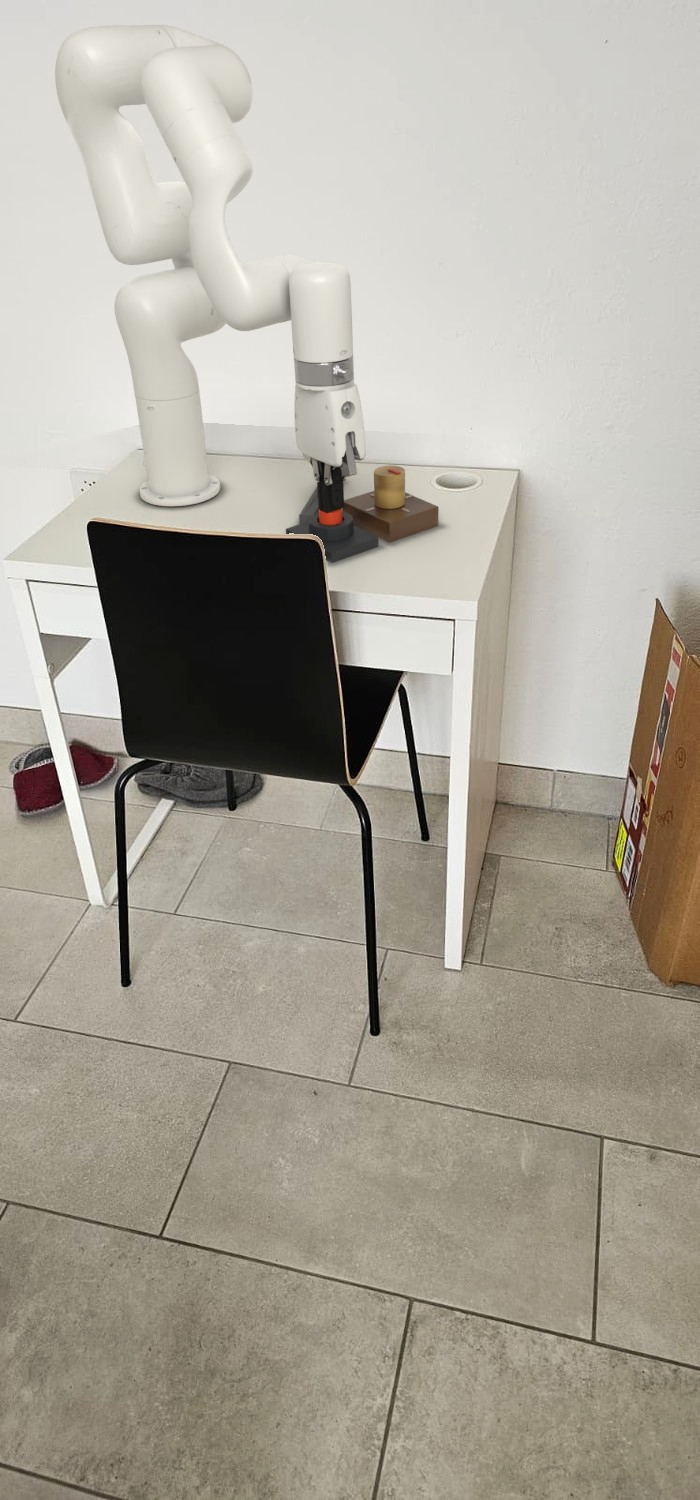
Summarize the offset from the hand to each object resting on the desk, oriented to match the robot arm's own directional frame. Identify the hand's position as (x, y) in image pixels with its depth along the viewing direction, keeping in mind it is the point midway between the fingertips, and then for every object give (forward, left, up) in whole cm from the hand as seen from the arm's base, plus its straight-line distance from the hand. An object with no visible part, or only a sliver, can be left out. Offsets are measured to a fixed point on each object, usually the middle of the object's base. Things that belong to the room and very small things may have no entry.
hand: (331, 508), depth 139 cm
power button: (0, 0, -2) cm, 2 cm away
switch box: (0, 0, -5) cm, 5 cm away
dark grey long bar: (-13, +7, -5) cm, 16 cm away
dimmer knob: (0, +10, -2) cm, 11 cm away
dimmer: (0, +10, -5) cm, 12 cm away
